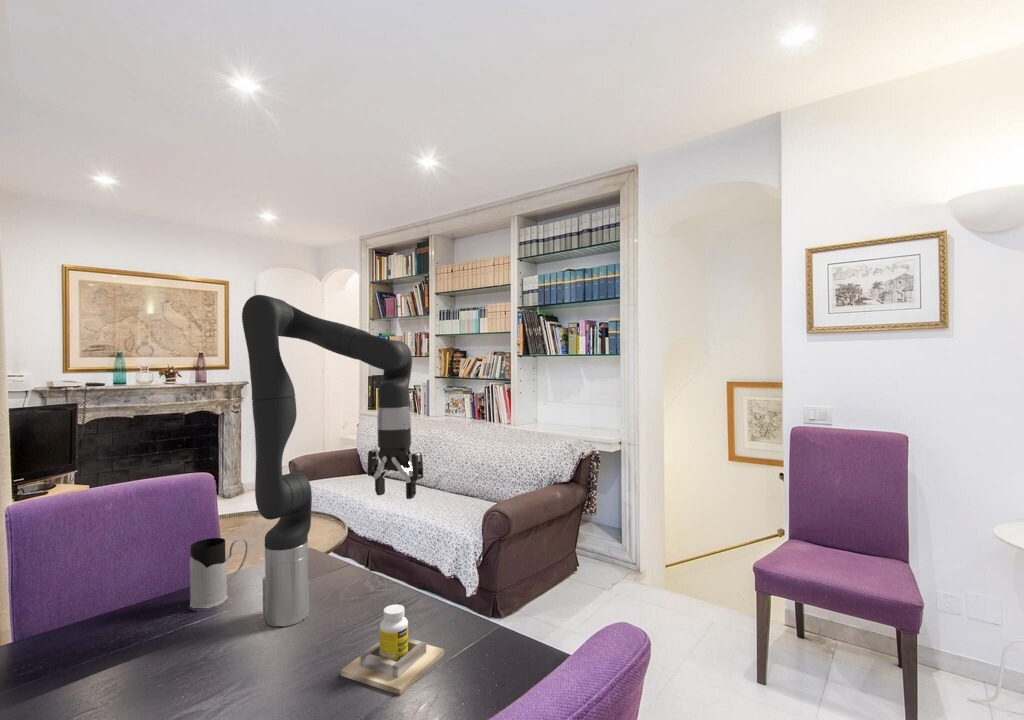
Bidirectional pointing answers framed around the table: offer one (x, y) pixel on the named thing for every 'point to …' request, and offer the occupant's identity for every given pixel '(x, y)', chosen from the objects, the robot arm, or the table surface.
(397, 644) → the supplement bottle
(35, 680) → the table surface
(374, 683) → the socket stand
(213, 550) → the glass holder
